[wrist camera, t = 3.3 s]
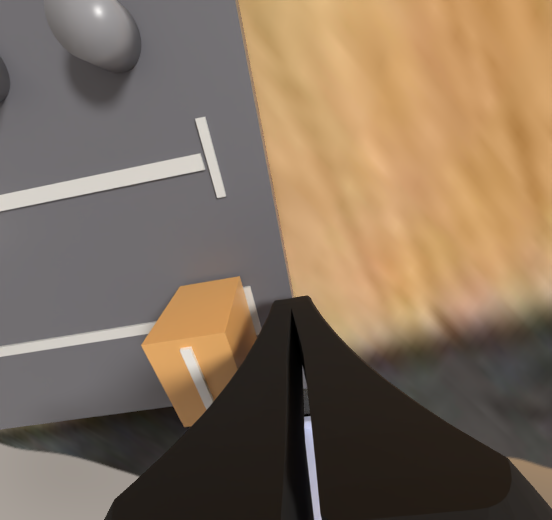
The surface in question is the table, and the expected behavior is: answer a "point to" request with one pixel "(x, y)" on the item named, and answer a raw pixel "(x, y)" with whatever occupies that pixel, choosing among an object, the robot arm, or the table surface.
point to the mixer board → (122, 193)
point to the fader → (200, 344)
